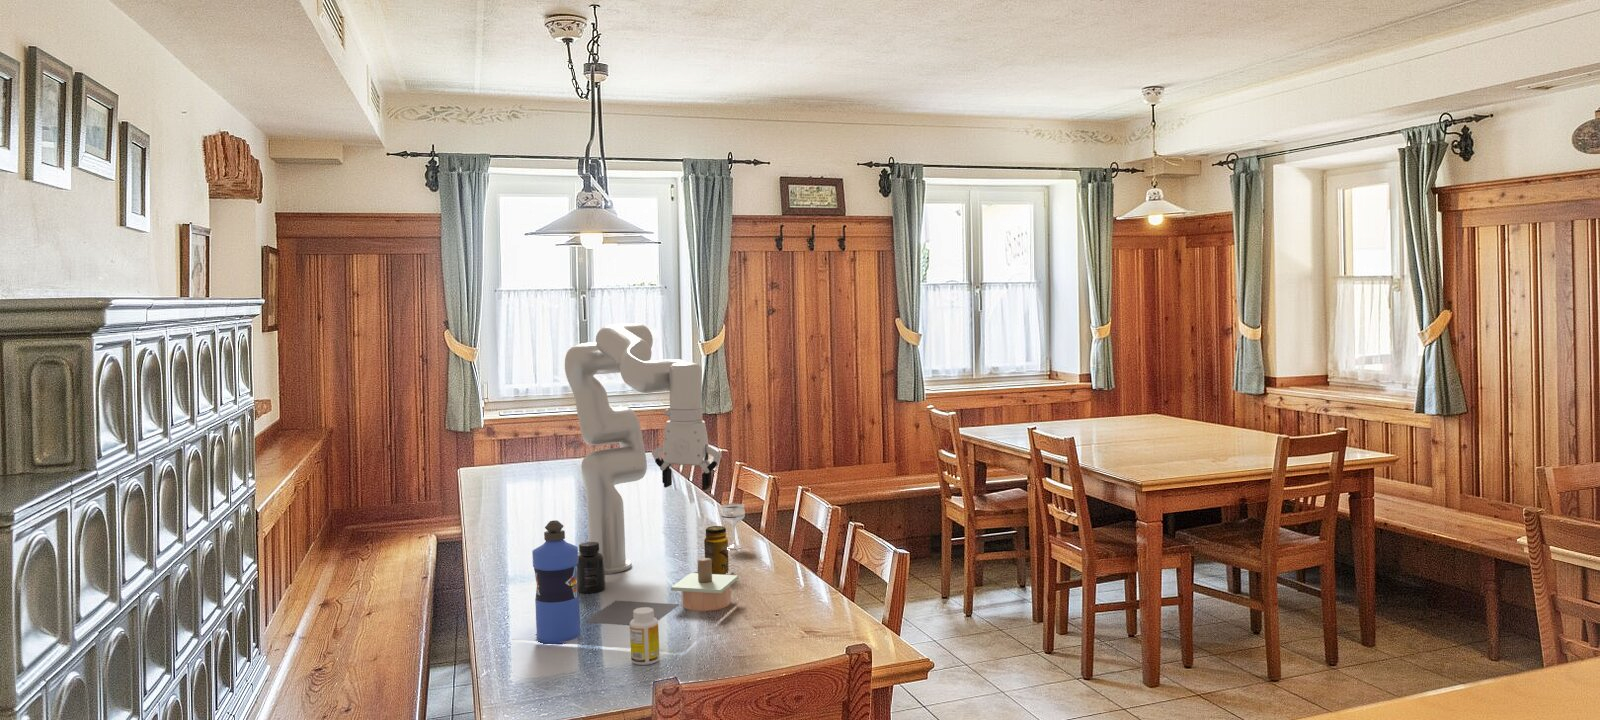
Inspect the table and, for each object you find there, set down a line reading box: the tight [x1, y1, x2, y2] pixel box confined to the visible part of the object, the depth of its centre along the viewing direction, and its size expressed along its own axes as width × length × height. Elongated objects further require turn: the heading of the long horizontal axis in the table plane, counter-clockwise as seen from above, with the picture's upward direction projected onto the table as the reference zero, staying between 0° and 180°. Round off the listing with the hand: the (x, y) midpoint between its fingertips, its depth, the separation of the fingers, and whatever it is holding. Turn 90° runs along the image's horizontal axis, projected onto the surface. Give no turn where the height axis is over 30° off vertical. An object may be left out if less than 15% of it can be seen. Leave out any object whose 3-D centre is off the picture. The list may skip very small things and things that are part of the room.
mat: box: [583, 600, 680, 626], centre depth 231 cm, size 16×16×1 cm
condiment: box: [692, 525, 729, 575], centre depth 263 cm, size 7×8×12 cm
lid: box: [670, 557, 739, 593], centre depth 236 cm, size 12×12×6 cm
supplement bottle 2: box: [629, 607, 660, 666], centre depth 201 cm, size 6×6×10 cm
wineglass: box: [720, 502, 746, 548], centre depth 290 cm, size 7×7×12 cm
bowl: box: [680, 585, 732, 612], centre depth 236 cm, size 11×11×5 cm
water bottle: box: [532, 520, 582, 645], centre depth 216 cm, size 9×9×25 cm
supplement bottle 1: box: [576, 541, 606, 595], centre depth 250 cm, size 7×7×12 cm
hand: (686, 487), depth 241 cm, fingers open, 9 cm apart
